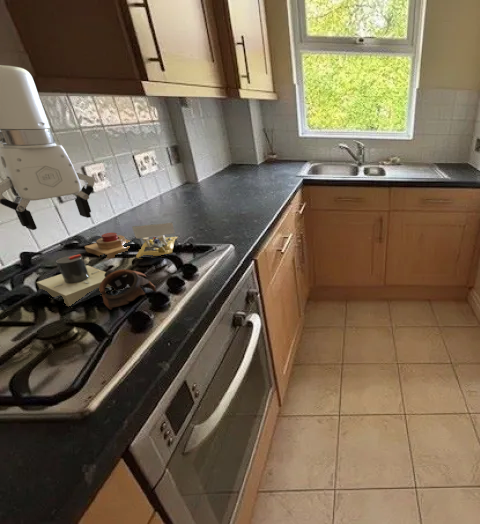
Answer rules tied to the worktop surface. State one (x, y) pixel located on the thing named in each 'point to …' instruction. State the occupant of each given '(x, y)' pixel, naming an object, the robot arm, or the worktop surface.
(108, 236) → the button
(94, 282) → the panel
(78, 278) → the dial
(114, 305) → the pottery mug
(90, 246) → the button block
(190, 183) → the worktop surface
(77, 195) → the robot arm
